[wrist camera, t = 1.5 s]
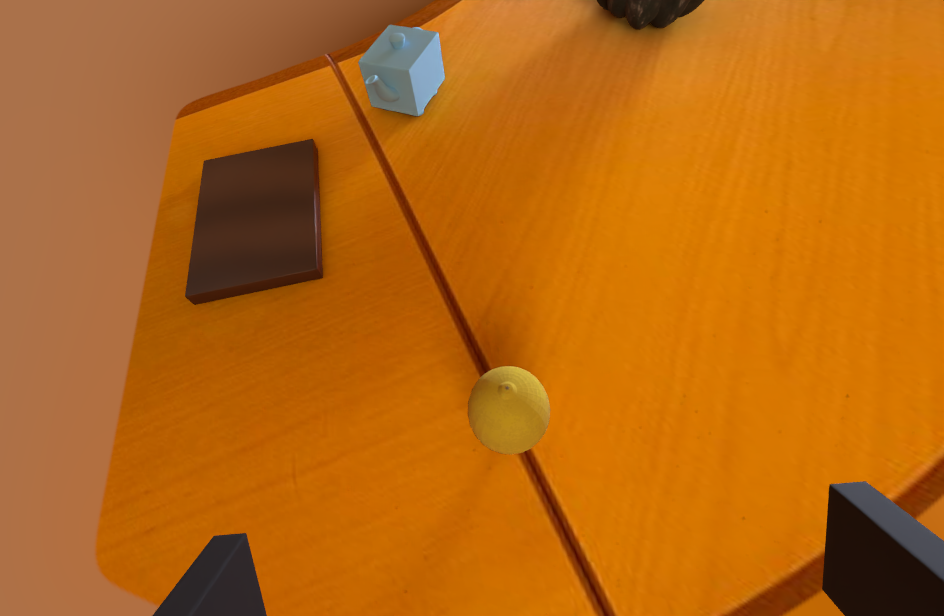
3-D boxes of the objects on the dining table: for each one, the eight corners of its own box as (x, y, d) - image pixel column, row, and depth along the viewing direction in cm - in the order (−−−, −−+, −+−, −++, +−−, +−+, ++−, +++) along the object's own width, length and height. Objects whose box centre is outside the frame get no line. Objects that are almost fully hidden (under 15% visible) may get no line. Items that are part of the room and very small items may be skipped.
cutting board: (322, 278, 46) (317, 268, 44) (194, 305, 45) (184, 296, 44) (317, 149, 55) (312, 138, 54) (211, 170, 55) (203, 160, 53)
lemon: (561, 421, 37) (570, 379, 30) (518, 482, 35) (517, 452, 28) (502, 380, 39) (498, 332, 32) (458, 435, 37) (443, 396, 30)
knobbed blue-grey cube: (406, 142, 54) (391, 80, 48) (359, 132, 56) (338, 70, 49) (451, 77, 60) (442, 14, 53) (406, 69, 61) (393, 7, 55)
